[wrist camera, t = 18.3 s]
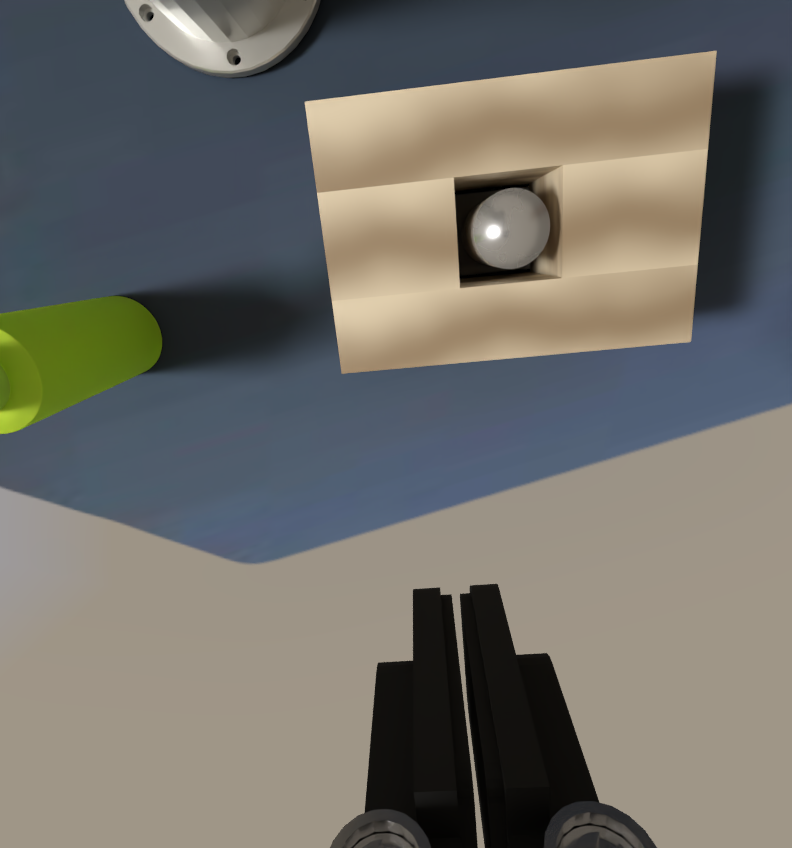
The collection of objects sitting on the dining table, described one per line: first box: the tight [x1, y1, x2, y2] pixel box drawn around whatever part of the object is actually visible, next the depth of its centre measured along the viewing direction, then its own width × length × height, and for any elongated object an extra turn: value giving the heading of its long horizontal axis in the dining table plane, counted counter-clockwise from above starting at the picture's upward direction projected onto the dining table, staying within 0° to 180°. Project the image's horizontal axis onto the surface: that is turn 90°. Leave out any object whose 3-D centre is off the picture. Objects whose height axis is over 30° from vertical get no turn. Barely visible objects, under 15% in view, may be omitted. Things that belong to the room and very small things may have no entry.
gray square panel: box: [455, 187, 530, 276], centre depth 34 cm, size 5×5×1 cm
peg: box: [462, 188, 550, 269], centre depth 30 cm, size 4×4×7 cm
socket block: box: [305, 51, 717, 374], centre depth 31 cm, size 14×20×8 cm
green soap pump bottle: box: [0, 296, 162, 434], centre depth 28 cm, size 6×7×20 cm
